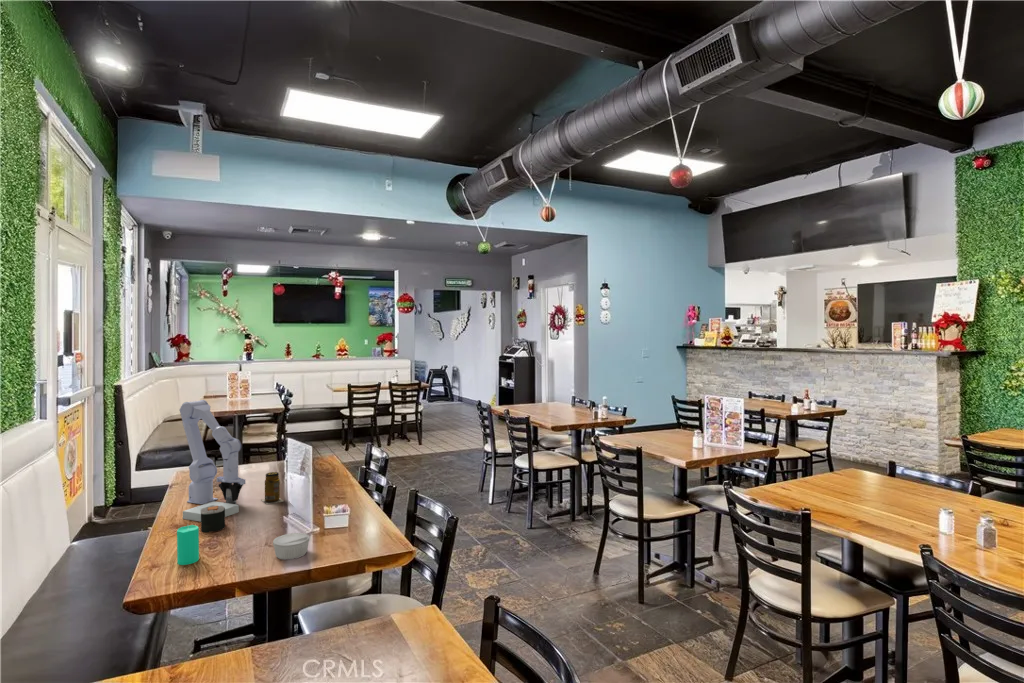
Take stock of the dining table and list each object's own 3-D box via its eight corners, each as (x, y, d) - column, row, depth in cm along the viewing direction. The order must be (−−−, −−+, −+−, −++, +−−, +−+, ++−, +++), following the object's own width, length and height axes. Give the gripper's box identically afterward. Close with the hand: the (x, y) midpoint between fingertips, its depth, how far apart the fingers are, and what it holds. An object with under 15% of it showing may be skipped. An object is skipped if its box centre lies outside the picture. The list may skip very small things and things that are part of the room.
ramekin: (297, 562, 174) (297, 546, 174) (265, 560, 176) (265, 543, 176) (316, 549, 185) (316, 533, 185) (285, 547, 187) (285, 531, 187)
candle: (183, 557, 179) (182, 520, 178) (202, 557, 179) (202, 520, 179) (173, 565, 173) (173, 527, 173) (193, 564, 173) (193, 526, 173)
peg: (223, 505, 235) (223, 488, 235) (231, 502, 239) (231, 486, 239) (230, 506, 234) (230, 489, 234) (238, 503, 237) (238, 487, 237)
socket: (182, 518, 217) (182, 511, 217) (213, 508, 230) (213, 501, 230) (208, 522, 212) (208, 515, 212) (238, 512, 225) (238, 504, 225)
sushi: (225, 523, 212) (225, 502, 212) (224, 530, 204) (224, 508, 204) (201, 526, 208) (201, 505, 208) (199, 533, 201) (199, 512, 200)
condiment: (278, 497, 246) (278, 470, 246) (284, 501, 240) (283, 474, 240) (260, 500, 242) (260, 473, 242) (266, 504, 235) (266, 476, 235)
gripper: (210, 468, 235) (210, 500, 235) (235, 471, 230) (236, 504, 230) (224, 465, 242) (224, 496, 242) (249, 467, 236) (249, 499, 236)
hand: (231, 499), depth 236 cm, fingers closed on peg, 4 cm apart
